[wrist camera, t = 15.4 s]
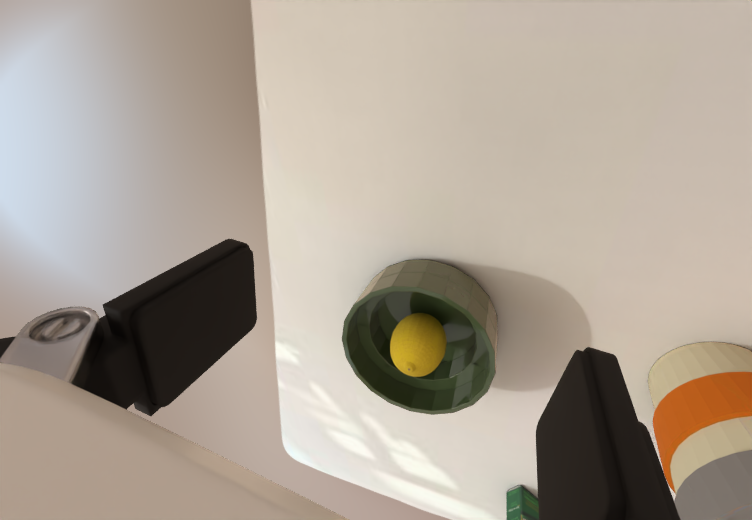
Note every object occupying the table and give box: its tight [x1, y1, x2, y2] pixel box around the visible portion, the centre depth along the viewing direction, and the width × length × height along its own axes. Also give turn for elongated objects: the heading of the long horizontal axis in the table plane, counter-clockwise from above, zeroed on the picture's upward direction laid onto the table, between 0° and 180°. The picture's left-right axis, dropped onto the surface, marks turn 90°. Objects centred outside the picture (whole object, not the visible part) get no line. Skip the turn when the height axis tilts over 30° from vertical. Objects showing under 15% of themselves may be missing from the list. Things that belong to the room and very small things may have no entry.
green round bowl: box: [342, 260, 498, 414], centre depth 37 cm, size 15×15×6 cm
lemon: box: [390, 313, 447, 377], centre depth 36 cm, size 6×6×8 cm
